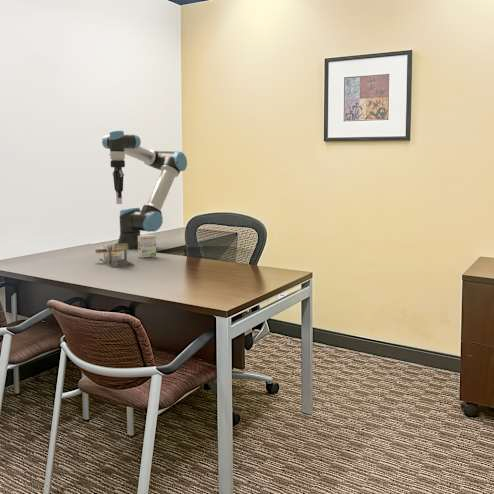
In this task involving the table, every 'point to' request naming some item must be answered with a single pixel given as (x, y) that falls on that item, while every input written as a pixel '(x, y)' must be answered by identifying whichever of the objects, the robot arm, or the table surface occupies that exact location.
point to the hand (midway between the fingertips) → (119, 203)
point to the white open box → (105, 256)
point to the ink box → (147, 246)
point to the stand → (118, 262)
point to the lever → (114, 248)
